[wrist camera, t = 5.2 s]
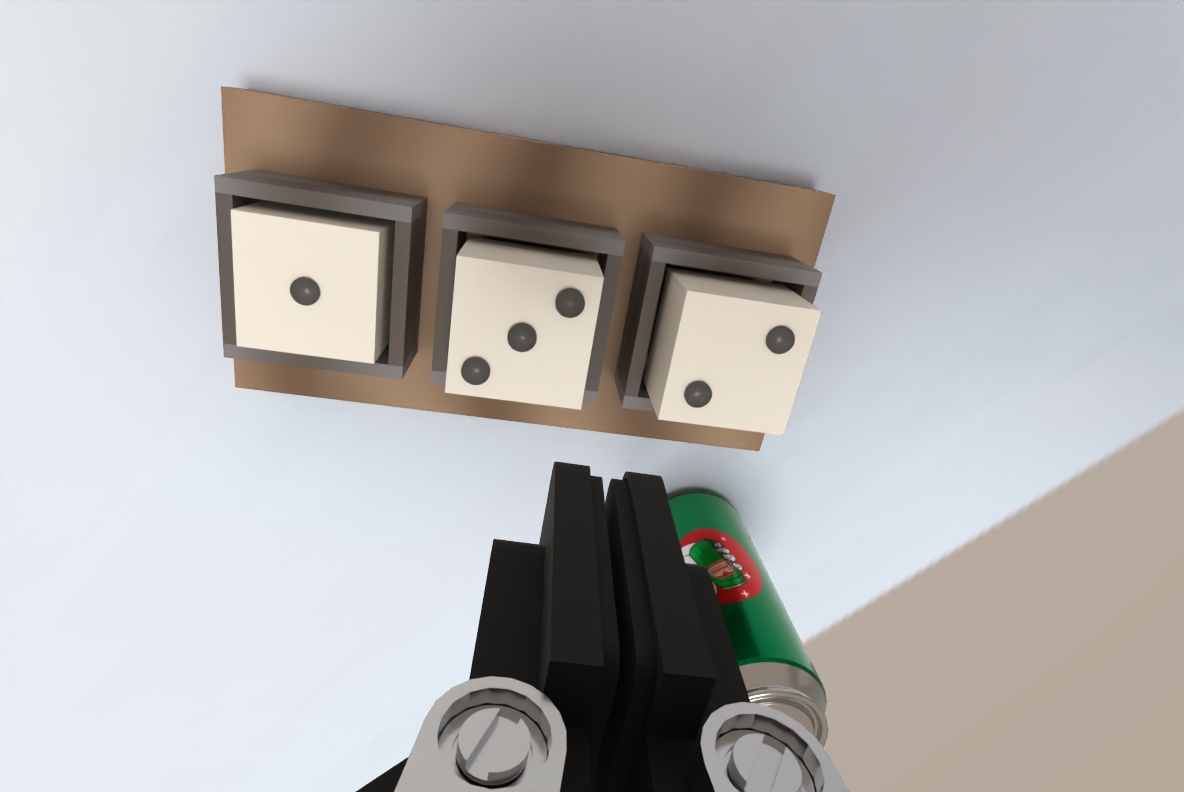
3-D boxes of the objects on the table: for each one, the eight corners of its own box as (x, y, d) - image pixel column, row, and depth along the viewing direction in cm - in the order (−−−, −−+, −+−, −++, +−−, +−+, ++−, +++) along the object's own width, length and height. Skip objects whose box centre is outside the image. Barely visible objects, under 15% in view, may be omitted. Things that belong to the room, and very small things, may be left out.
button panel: (815, 189, 26) (872, 204, 22) (746, 431, 30) (782, 486, 26) (246, 89, 23) (173, 80, 19) (255, 369, 28) (197, 418, 23)
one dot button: (402, 217, 23) (378, 233, 20) (396, 333, 25) (372, 365, 22) (275, 197, 23) (228, 210, 19) (277, 316, 24) (234, 347, 21)
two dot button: (784, 285, 23) (824, 312, 20) (752, 395, 25) (785, 437, 22) (667, 267, 23) (688, 291, 20) (643, 380, 25) (658, 421, 21)
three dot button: (595, 255, 23) (604, 278, 19) (576, 371, 24) (580, 411, 21) (469, 236, 22) (456, 256, 19) (458, 356, 24) (444, 394, 20)
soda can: (706, 583, 34) (785, 808, 23) (621, 551, 32) (660, 770, 21) (758, 508, 32) (870, 711, 21) (671, 471, 31) (741, 664, 20)
